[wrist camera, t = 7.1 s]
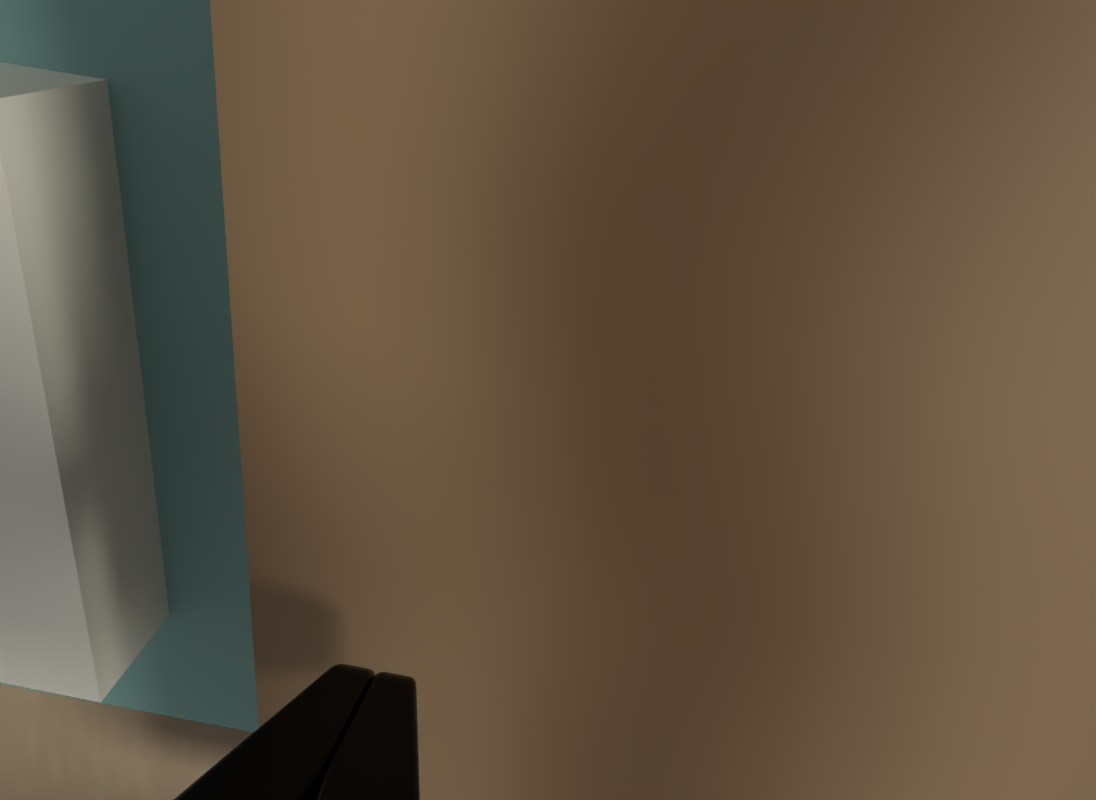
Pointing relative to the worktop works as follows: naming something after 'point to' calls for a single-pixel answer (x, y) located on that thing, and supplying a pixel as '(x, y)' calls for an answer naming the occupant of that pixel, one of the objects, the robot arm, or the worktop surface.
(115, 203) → the white block
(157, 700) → the mat
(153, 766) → the worktop surface
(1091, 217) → the brown box
